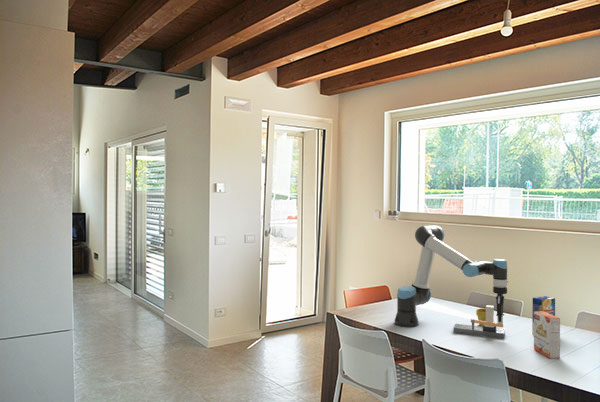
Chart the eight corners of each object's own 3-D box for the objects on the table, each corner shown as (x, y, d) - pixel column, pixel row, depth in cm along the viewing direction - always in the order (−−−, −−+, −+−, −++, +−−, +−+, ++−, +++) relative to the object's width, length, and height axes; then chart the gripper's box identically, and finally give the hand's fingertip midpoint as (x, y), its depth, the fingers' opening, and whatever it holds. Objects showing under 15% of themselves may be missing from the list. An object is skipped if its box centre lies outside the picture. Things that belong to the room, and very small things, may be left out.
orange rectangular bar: (470, 328, 279) (470, 319, 279) (471, 328, 281) (471, 318, 281) (502, 334, 267) (502, 325, 267) (503, 333, 269) (503, 324, 269)
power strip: (453, 332, 283) (453, 322, 283) (455, 328, 292) (455, 318, 292) (503, 338, 271) (504, 328, 271) (504, 334, 280) (504, 324, 280)
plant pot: (495, 328, 292) (495, 312, 292) (477, 327, 294) (477, 311, 294) (491, 323, 302) (491, 308, 302) (475, 323, 304) (475, 308, 304)
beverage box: (555, 335, 278) (555, 298, 278) (542, 337, 273) (542, 300, 273) (544, 332, 284) (544, 296, 284) (532, 334, 279) (532, 297, 279)
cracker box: (533, 349, 251) (533, 311, 251) (543, 349, 252) (544, 310, 251) (549, 358, 237) (549, 317, 237) (560, 358, 238) (560, 317, 237)
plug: (483, 331, 275) (483, 307, 275) (484, 327, 282) (484, 304, 282) (494, 332, 272) (494, 308, 272) (495, 329, 280) (495, 305, 280)
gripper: (505, 288, 263) (505, 330, 263) (508, 284, 274) (508, 324, 274) (491, 287, 267) (491, 328, 267) (494, 283, 278) (494, 323, 278)
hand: (500, 326), depth 271 cm, fingers closed
